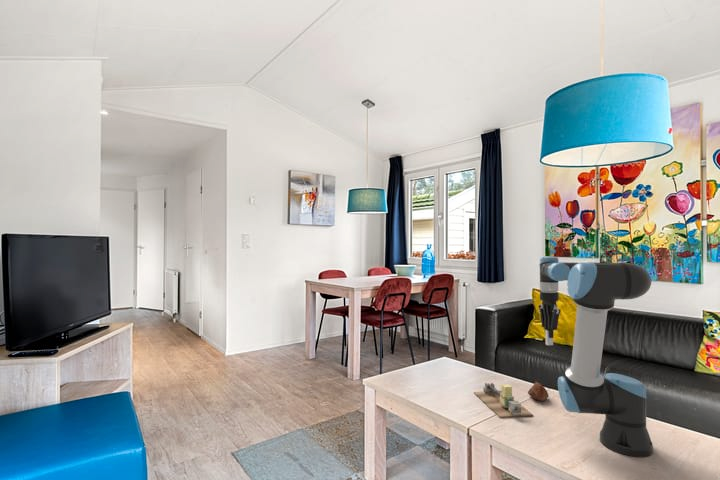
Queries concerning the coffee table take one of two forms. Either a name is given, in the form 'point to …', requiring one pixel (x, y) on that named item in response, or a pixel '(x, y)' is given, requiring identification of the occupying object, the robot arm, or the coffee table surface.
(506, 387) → the yellow sliding block
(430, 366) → the coffee table surface
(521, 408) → the brown flat board
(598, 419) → the coffee table surface
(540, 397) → the fossil
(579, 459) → the coffee table surface
